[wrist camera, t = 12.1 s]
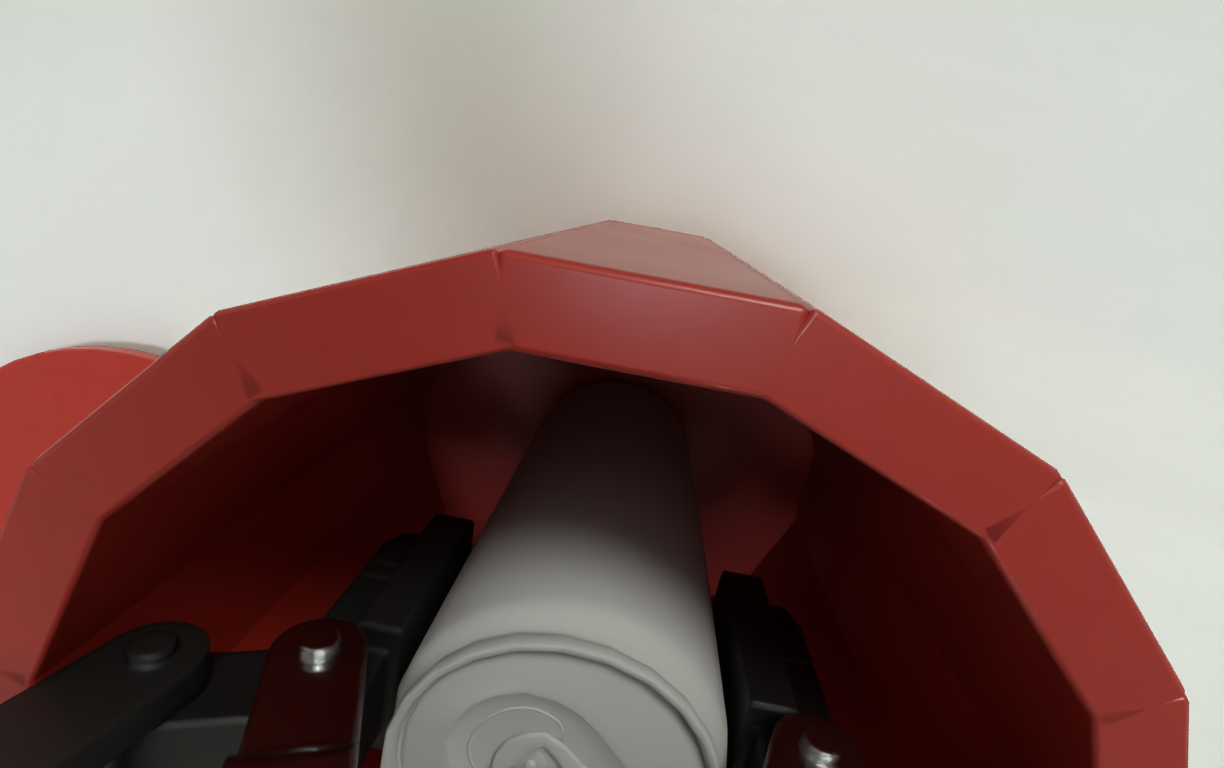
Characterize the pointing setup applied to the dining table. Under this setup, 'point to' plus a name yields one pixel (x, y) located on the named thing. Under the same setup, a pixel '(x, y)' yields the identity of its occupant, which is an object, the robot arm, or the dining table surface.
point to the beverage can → (576, 610)
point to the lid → (54, 402)
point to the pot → (499, 437)
